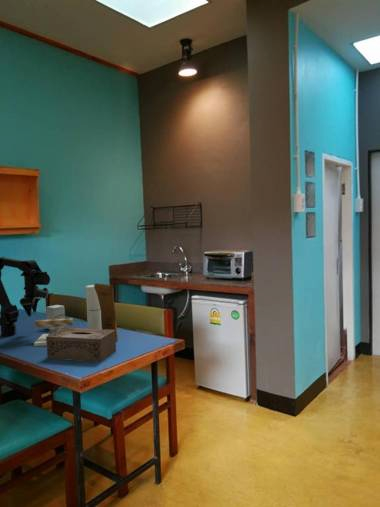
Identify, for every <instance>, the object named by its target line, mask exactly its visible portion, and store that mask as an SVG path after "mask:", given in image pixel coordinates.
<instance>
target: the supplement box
mask: <svg viewBox="0 0 380 507" xmlns="http://www.w3.org/2000/svg"><path fill="white" fill-rule="evenodd" d="M45 312H46V320H49V319H66V312H65V305H63V304H62V305H60V304H55V305H54V304H53V305H49V306H46V307H45ZM50 328H51V327H46V329H48V330H50ZM59 328H61V329H63V328H66V326H59Z"/></svg>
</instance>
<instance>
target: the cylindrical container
mask: <svg viewBox="0 0 380 507" xmlns="http://www.w3.org/2000/svg"><path fill="white" fill-rule="evenodd" d="M94 285H95V284H90V285H86V286H85V298H86V299H85V301H86V318H87V319H86V320H87V321H86V322H87V329H102V322H101V309H100V305H99V301H98V297H97V293H96V291H95V288H94Z"/></svg>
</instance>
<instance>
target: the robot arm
mask: <svg viewBox="0 0 380 507" xmlns="http://www.w3.org/2000/svg"><path fill="white" fill-rule="evenodd" d="M5 267H10V268H16V269H19V271H22V273H21V274H19V275H20V277H23V280H24V287H23V290H24V294H23V297H22V298H21V299H20V300H19V305H20V306H22V308H23V309H24V311H25V313H26V315H27V316H28V317H32V312H33V313H36V312H37V308H38V303H39V302H40V300H41V299H46V298H48V296H49V294H50V293H49V290H48V288H47V287H44V288H39V286H48V285H49V284H50V282H51V277H50V275H49V274H48V271H43V270H42V269H41V268H40V266H39V264H38V263H37V261H36V260H35V259H29V260H28V259H27V260H26V259H25V260H21V259H15V258H9V257H5V256H0V337H13V336H14V335H16V334H17V325H16V323H17V322H18V318H19V316H20V313H19V312H20V311H19V309H18V306H17V305H16V304H12V303H11V301H10V299H9V296H8V294H7V291H6V289H5V285H4V284H3V281H2V270H3V269H4V268H5Z"/></svg>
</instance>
